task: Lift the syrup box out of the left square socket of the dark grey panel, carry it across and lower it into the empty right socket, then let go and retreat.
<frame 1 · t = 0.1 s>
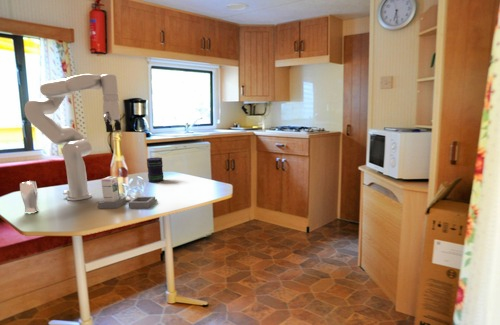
hand: (114, 131, 189), 37 cm above the table, tool pointing down, fingers open, 9 cm apart
storage jar: (156, 181, 233), on the table
white vase: (32, 212, 173), on the table
syrup box: (112, 205, 182), resting in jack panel
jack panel: (127, 205, 181), on the table
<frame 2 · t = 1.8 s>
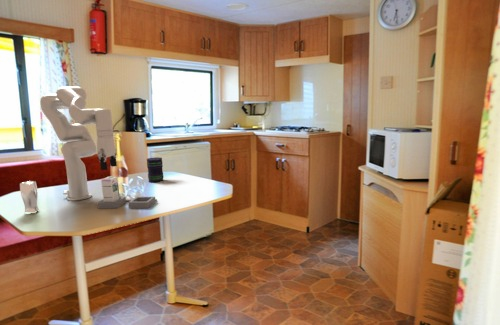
hand: (109, 168, 178), 19 cm above the table, tool pointing down, fingers open, 9 cm apart
nothing on the table moved.
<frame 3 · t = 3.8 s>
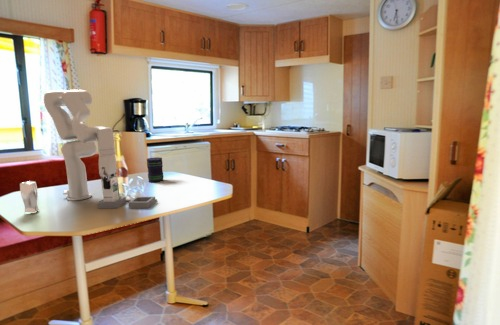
hand: (110, 186, 180), 10 cm above the table, tool pointing down, fingers closed on syrup box, 6 cm apart
syrup box: (112, 205, 182), resting in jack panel, touching gripper
everything else where it was.
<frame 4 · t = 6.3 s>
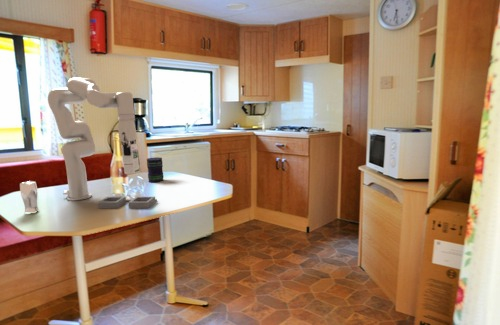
hand: (130, 154, 176), 26 cm above the table, tool pointing down, fingers closed on syrup box, 6 cm apart
syrup box: (132, 173, 177), point 17 cm above the table, touching gripper
everything else where it was.
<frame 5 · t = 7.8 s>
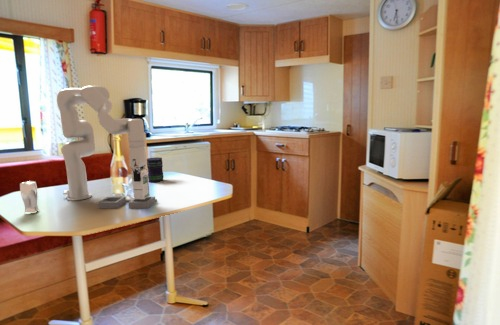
hand: (140, 179, 178), 13 cm above the table, tool pointing down, fingers closed on syrup box, 6 cm apart
syrup box: (141, 198, 180), point 4 cm above the table, touching gripper
everything else where it was.
when the fingers open (11 cm above the table, at t = 9.1 s): syrup box drops 1 cm, resting in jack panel.
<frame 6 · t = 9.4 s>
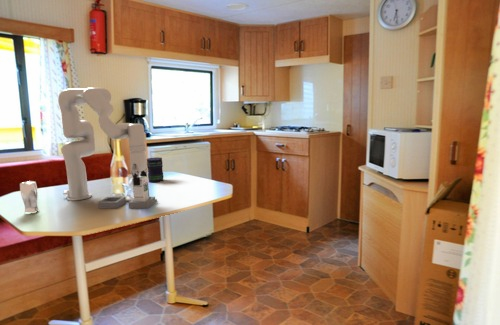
hand: (140, 182, 178), 12 cm above the table, tool pointing down, fingers open, 8 cm apart
syrup box: (142, 205, 180), resting in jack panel
everything else where it was.
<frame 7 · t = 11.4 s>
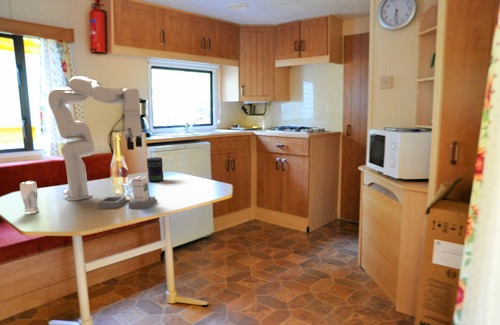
hand: (134, 148, 179), 29 cm above the table, tool pointing down, fingers open, 9 cm apart
nothing on the table moved.
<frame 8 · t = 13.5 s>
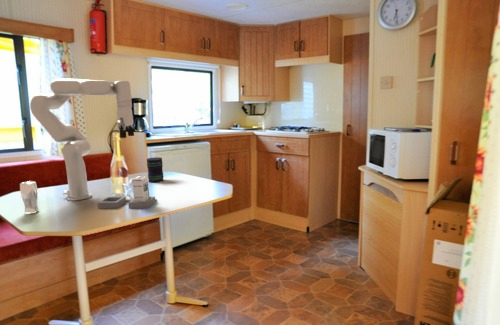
hand: (127, 136, 191), 33 cm above the table, tool pointing down, fingers open, 9 cm apart
nothing on the table moved.
at the end: syrup box 0.1 cm from the target spot on the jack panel, point 0.0 cm above the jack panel's base; syrup box tilted 0°; the gripper is holding nothing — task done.
